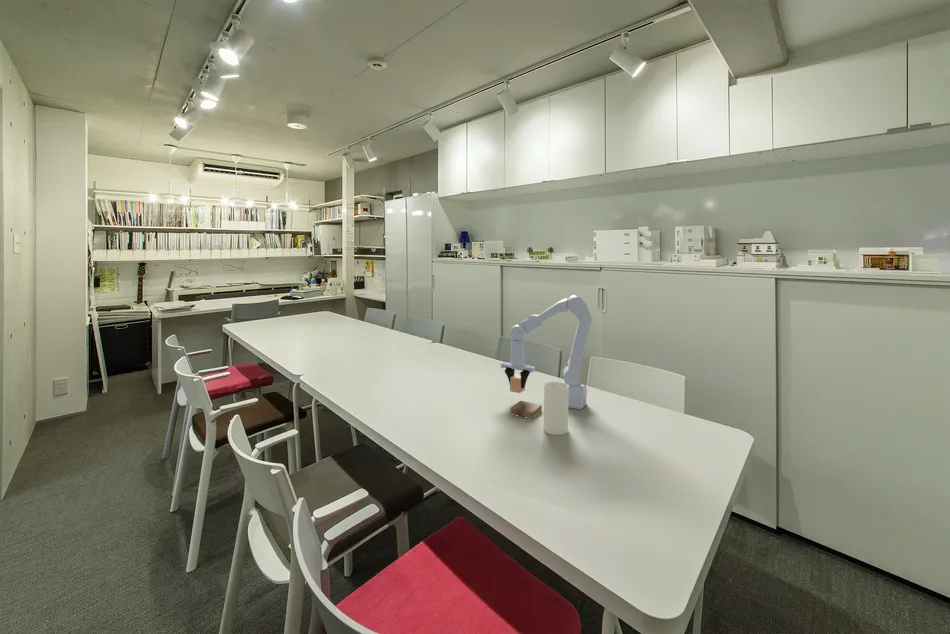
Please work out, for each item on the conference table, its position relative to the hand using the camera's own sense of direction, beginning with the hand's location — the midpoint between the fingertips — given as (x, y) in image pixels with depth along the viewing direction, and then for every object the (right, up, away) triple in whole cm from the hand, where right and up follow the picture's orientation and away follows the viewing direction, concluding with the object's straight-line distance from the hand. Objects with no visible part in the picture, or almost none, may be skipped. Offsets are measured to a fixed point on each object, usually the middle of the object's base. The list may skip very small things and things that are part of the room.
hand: (517, 386), depth 166 cm
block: (0, -2, 0) cm, 2 cm away
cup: (+10, -11, -26) cm, 30 cm away
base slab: (+2, -9, -11) cm, 14 cm away
